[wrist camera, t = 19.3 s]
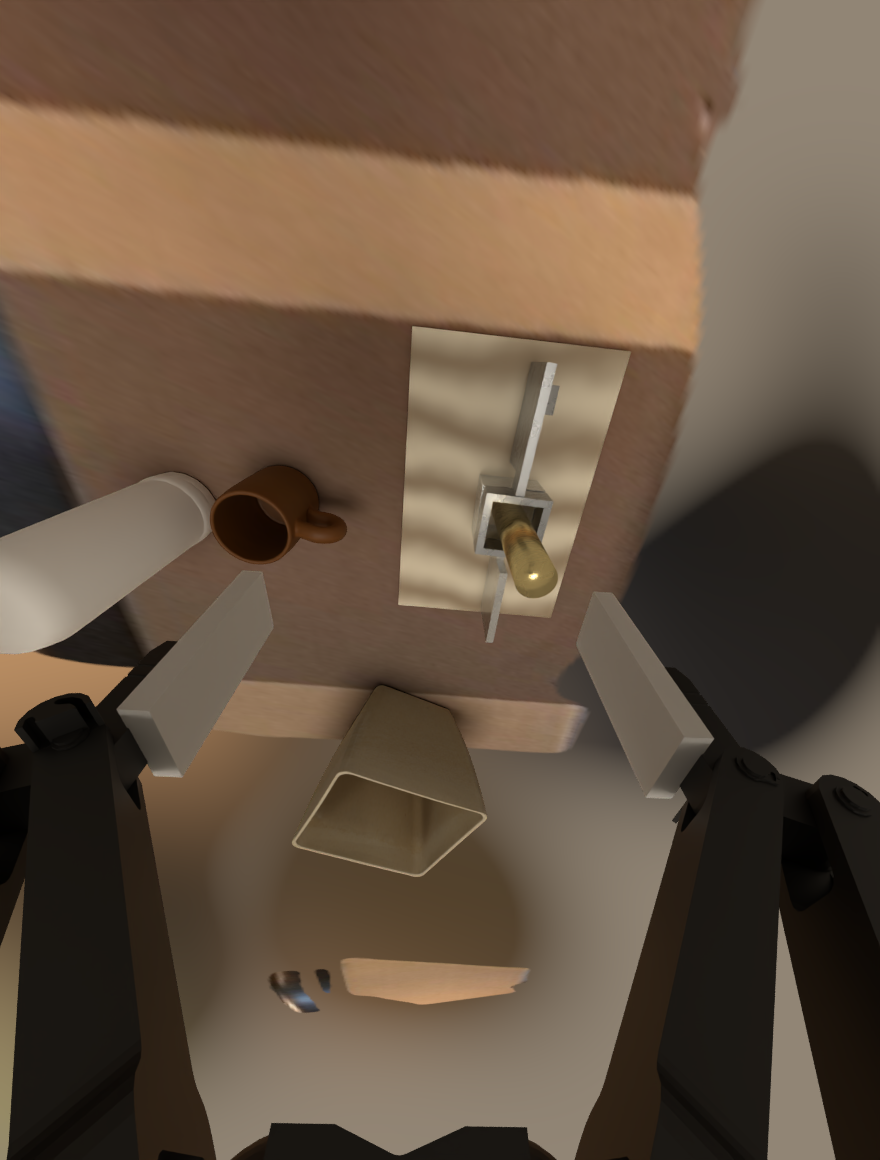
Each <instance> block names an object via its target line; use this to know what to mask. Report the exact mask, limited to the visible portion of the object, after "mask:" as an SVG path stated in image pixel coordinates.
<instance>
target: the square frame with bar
mask: <svg viewBox="0 0 880 1160" xmlns="http://www.w3.org/2000/svg"><path fill="white" fill-rule="evenodd" d="M556 367H557V364H556V363H550V362H531V365H530V370H529V374H528V379H527V383H526V388H525V393H524V397H523V402H522V406H521V411H520V415H519V420H518V424H517V429H516V434H515V438H514V443H513V447H512V452H511V456H510V461H509V462H510V463H511V465H512V466H513V468H514V469H515V471H516V473H515V477H514V481H513V486H512V489H510V488H502V487H495V486H487V485H484V489H483V495H482V500H481V505H480V510H479V516H478V521H477V526H476V531H475V536H474V542H473V545H474V551H475V554H480V555H488V556H496V557H505V558H506V556H505V553H504V550H503V547H502V544H501V541H500V540H493V539H485V537H486V533H487V528H488V523H489V518H490V513H491V509H492V504H493V501H494V502H502V503H509V504H517V505H525V506H532V507H536V509H535V513H534V517H533V520H532V526H533V528H534V530H535V532H536V533H537V535H538V537H539V539H540V541H541V543H542V539H543V536H544V533H545V529H546V526H547V522H548V519H549V516H550V512H551V509H552V505H553V500H552V499H551V498H550V497H549V495H548V494H547V493H540V492H533V491H526V487H527V483H528V479H529V475H530V471H531V467H532V463H533V459H534V455H535V451H536V447H537V443H538V439H539V435H540V431H541V427H542V423H543V419H544V415H545V411H546V407H547V403H548V399H549V395H550V391H551V387H552V383H553V379H554V375H555V371H556Z"/></svg>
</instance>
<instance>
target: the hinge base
mask: <svg viewBox="0 0 880 1160" xmlns="http://www.w3.org/2000/svg"><path fill="white" fill-rule="evenodd" d="M559 387H560V386H557V385H553V384H552V387H551V391H550V395H549V399H548V403H547V407H546V411H545V415H553V413H554V409H555V404H556V400H557V396H558V391H559ZM513 481H514V478H510V477H500V476H490V475H480V474H479V481H478V487H477V494H476V501H475V507H474V514H473V521H472V527H471V529H472V535H473V541H474V536H475V531H476V526H477V521H478V516H479V510H480V505H481V500H482V495H483V489H484V485H487V486H495V487H502V488H510V489H512V486H513ZM526 491H533V492H540V493H545V492H546V491H545V490H544V489H543V487H542V486H541V485H540V484H539V482H538V481H537V480H530V479H528V483H527V487H526ZM535 509H536V507H532V506H524V511H525V513H526V515H527V517H528V519H529V520H530V522H531V524H532V520H533V517H534V513H535ZM485 539H493V540H500V538H499V535H498V531H497V528H496V525H491V524H488V528H487V533H486V537H485ZM507 575H508V573H507V570H506V567H505V563H504V557H496V556H490V558H489V564H488V569H487V575H486V580H485V586H484V591H483V597H482V602H481V614H482V620H483V627H484V633H485V640H486V642H489V643H493V640H494V635H495V630H496V626H497V621H498V617H499V612H500V607H501V603H502V598H503V593H504V589H505V584H506V580H507Z"/></svg>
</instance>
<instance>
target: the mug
mask: <svg viewBox="0 0 880 1160" xmlns="http://www.w3.org/2000/svg"><path fill="white" fill-rule="evenodd" d="M318 509H319V499H318V495H317V492H316V490H315V488H314V486H313V484H312V483H311V482H310V480H309V479H308V478H307V477H306V476H304V475H303V474H302V473H300V472H299V471H297V470H295V469H293V468H290V467H286V466H270V467H267V468H264V469H262V470H260V471H258V472H257V473H255V474H253V475H252V476H250V477H248V478H246V479H244V480H243V481H241V482H239V483H238V484H236V485H234V486H233V487H231V488H230V489H228V490H227V491H226V492H225V493H224V494H222V495H221V496H220V497H219V498H218V499H217V500H216V501H215V502H214V504H213V506H212V508H211V512H210V525H211V529H212V532H213V534H214V536H215V538H216V540H217V541H218V543H219V544H220V545H221V546H222V547H223V548H224V549H225V550H226V551H227V552H228V553H229V554H231V555H232V556H234V557H236V558H237V559H239V560H242V561H244V562H248V563H252V564H269V563H272V562H275V561H277V560H279V559H281V558H282V557H283V556H284V555H285V554H286V553H287V552H289V551H290V550H291V549H292V548H293V547H294V545H295V544H296V543H297V542H298V540H299V539H300V538H302V539H305V540H308V541H311V542H314V543H323V544H326V543H334V542H337V541H339V540H341V539H343V537H344V536H345V535H346V532H347V526H346V523H345V522H344V521H343V520H342V519H341V518H340V517H338V516H336V515H334V514H331V513H326V512H321V511H318Z"/></svg>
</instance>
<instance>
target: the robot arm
mask: <svg viewBox="0 0 880 1160" xmlns="http://www.w3.org/2000/svg"><path fill="white" fill-rule="evenodd" d="M273 628H274V625H273V620H272V616H271V611H270V606H269V601H268V596H267V592H266V587H265V582H264V577H263V572H259V571H242V572H241V573H240V574H239V575H238V576H237V577H236V578H235V579H234V580H233V582H232V583H231V584H230V585H229V586H228V587H227V588H226V589H225V590H224V591H223V593H222V594H221V595H220V596H219V597H218V598H217V599H216V600H215V601H214V602H213V604H212V605H211V606H210V607H209V608H208V609H207V610H206V611H205V612H204V613H203V615H202V616H201V617H200V618H199V619H198V620H197V621H196V622H195V623H194V624H193V626H192V627H191V628H190V629H189V630H188V631H187V632H186V633H185V634H184V635H183V637H182V638H181V639H180V640H179V641H166V642H164V643H163V644H161V645H160V646H158V647H156V648H155V649H153V650H151V651H150V652H149V653H148V654H147V655H146V656H145V657H144V658H143V659H142V660H141V661H140V662H139V663H138V666H135V667H134V668H133V670H131V672H130V673H129V674H128V676H127V677H125V678H124V679H123V680H122V681H121V682H120V683H119V684H118V685H117V686H116V687H115V688H114V689H113V690H112V691H111V692H110V693H109V694H108V695H107V696H106V697H105V698H104V699H103V700H102V701H101V702H100V703H99V704H98V706H96V707H95V706H94V704H93V703H92V701H91V699H90V698H89V696H87V695H84V694H82V693H69V694H65V695H61V696H57V697H54V698H52V699H50V700H47V701H45V702H42V703H40V704H39V705H37V706H36V707H34V708H33V709H31V710H29V711H28V712H27V713H26V714H25V715H24V716H23V717H22V718H21V719H20V720H19V721H18V723H17V725H16V727H15V729H14V730H15V732H16V733H17V734H18V735H19V736H20V738H21V739H22V740H23V741H24V743H25V744H20V745H15V746H10V747H5V748H0V945H1V943H2V940H3V938H4V934H5V932H6V929H7V926H8V924H9V920H10V918H11V915H12V912H13V910H14V907H15V904H16V901H17V898H18V896H19V893H20V890H21V887H22V884H23V882H24V879H25V887H24V904H23V920H22V937H21V953H20V969H19V985H18V986H19V987H18V1001H17V1002H18V1003H17V1018H16V1035H15V1051H14V1067H13V1083H12V1099H11V1115H10V1132H9V1147H8V1154H7V1160H216V1155H215V1150H214V1145H213V1140H212V1134H211V1130H210V1125H209V1121H208V1117H207V1114H206V1111H205V1107H204V1104H203V1102H202V1099H201V1097H200V1094H199V1092H198V1090H197V1087H196V1083H195V1080H194V1075H193V1071H192V1065H191V1060H190V1054H189V1048H188V1043H187V1037H186V1032H185V1026H184V1021H183V1015H182V1009H181V1003H180V998H179V992H178V986H177V981H176V975H175V970H174V965H173V959H172V953H171V947H170V942H169V936H168V930H167V924H166V919H165V913H164V907H163V902H162V896H161V891H160V885H159V879H158V874H157V868H156V863H155V857H154V852H153V845H152V840H151V834H150V829H149V823H148V817H147V812H146V806H145V800H144V795H143V789H142V784H141V782H140V780H139V778H138V776H139V774H140V773H141V771H142V770H143V768H144V767H145V766H146V764H148V766H149V768H150V769H151V771H152V773H153V775H154V776H165V777H183V775H184V774H185V772H186V770H187V769H188V767H189V766H190V764H191V762H192V761H193V759H194V757H195V756H196V754H197V752H198V751H199V749H200V747H201V746H202V744H203V742H204V741H205V739H206V738H207V736H208V734H209V733H210V731H211V729H212V728H213V726H214V725H215V723H216V721H217V720H218V718H219V716H220V715H221V713H222V711H223V710H224V708H225V707H226V705H227V703H228V702H229V700H230V698H231V697H232V695H233V693H234V692H235V690H236V688H237V687H238V685H239V684H240V682H241V680H242V679H243V677H244V675H245V674H246V672H247V670H248V669H249V667H250V666H251V664H252V662H253V661H254V659H255V657H256V656H257V654H258V652H259V651H260V649H261V647H262V646H263V644H264V643H265V641H266V639H267V638H268V636H269V634H270V633H271V631H272V629H273ZM576 645H577V648H578V650H579V652H580V654H581V656H582V659H583V661H584V663H585V665H586V667H587V670H588V672H589V674H590V676H591V678H592V681H593V683H594V685H595V687H596V690H597V692H598V694H599V696H600V698H601V701H602V703H603V705H604V707H605V709H606V712H607V714H608V716H609V718H610V720H611V722H612V725H613V727H614V729H615V731H616V733H617V736H618V738H619V740H620V742H621V744H622V747H623V749H624V751H625V753H626V756H627V758H628V760H629V762H630V765H631V767H632V769H633V771H634V773H635V776H636V778H637V780H638V782H639V784H640V786H641V789H642V791H643V793H644V795H645V797H646V798H665V799H672V797H673V796H674V795H675V793H676V792H677V790H678V789H679V788H680V787H681V789H682V791H683V793H684V795H685V796H686V798H687V801H686V802H685V804H684V805H683V806H682V808H681V809H680V811H679V812H678V813H677V814H676V816H675V817H674V819H673V820H672V821H673V822H675V823H677V822H678V825H677V829H676V832H675V835H674V839H673V842H672V846H671V849H670V853H669V857H668V860H667V864H666V867H665V871H664V874H663V878H662V882H661V885H660V889H659V892H658V896H657V899H656V903H655V906H654V910H653V914H652V917H651V920H650V924H649V927H648V931H647V934H646V938H645V941H644V945H643V949H642V952H641V955H640V959H639V962H638V966H637V970H636V973H635V977H634V980H633V984H632V987H631V991H630V994H629V998H628V1001H627V1005H626V1009H625V1012H624V1016H623V1019H622V1023H621V1026H620V1030H619V1033H618V1037H617V1040H616V1044H615V1047H614V1051H613V1054H612V1058H611V1062H610V1065H609V1068H608V1072H607V1075H606V1079H605V1082H604V1085H603V1088H602V1091H601V1093H600V1096H599V1098H598V1099H597V1101H596V1103H595V1105H594V1107H593V1109H592V1111H591V1113H590V1115H589V1118H588V1120H587V1122H586V1125H585V1128H584V1131H583V1134H582V1137H581V1140H580V1143H579V1146H578V1150H577V1153H576V1157H575V1160H767V1152H768V1131H769V1109H770V1088H771V1087H770V1086H771V1066H772V1046H773V1024H774V1022H773V1021H774V1003H775V981H776V960H777V938H778V918H779V909H780V913H781V918H782V922H783V927H784V931H785V936H786V940H787V945H788V949H789V953H790V958H791V962H792V967H793V971H794V975H795V980H796V985H797V989H798V994H799V998H800V1002H801V1007H802V1011H803V1016H804V1020H805V1025H806V1029H807V1034H808V1038H809V1043H810V1047H811V1051H812V1056H813V1060H814V1065H815V1069H816V1074H817V1078H818V1083H819V1087H820V1092H821V1096H822V1101H823V1105H824V1109H825V1114H826V1118H827V1123H828V1127H829V1132H830V1136H831V1141H832V1145H833V1150H834V1154H835V1158H836V1160H880V802H879V801H878V800H877V799H876V798H874V797H873V796H872V795H871V794H870V793H869V792H867V791H866V790H864V789H863V788H861V787H860V786H858V785H857V784H855V783H853V782H851V781H848V780H847V779H845V778H842V777H838V776H834V775H822V777H820V778H819V779H818V780H817V781H816V782H815V783H814V784H810V783H807V782H804V781H801V780H798V779H795V778H791V777H788V776H785V775H782V774H779V772H778V771H777V770H776V768H775V767H774V766H773V765H772V764H771V763H770V762H768V761H767V760H766V759H765V758H763V757H762V756H760V755H759V754H757V753H755V752H753V751H751V750H748V749H746V748H743V747H740V746H739V745H738V743H737V742H736V741H735V739H734V738H733V737H732V735H731V734H730V733H729V731H728V730H727V729H726V727H725V726H724V725H723V723H722V722H721V721H720V719H719V718H718V717H717V715H716V714H715V713H714V712H713V710H712V709H711V707H710V706H708V705H707V704H708V703H707V702H706V701H705V700H704V698H703V697H702V695H700V694H699V691H698V690H697V689H696V687H695V686H694V685H693V683H692V682H691V681H690V680H689V679H688V678H687V677H686V676H685V675H683V674H682V673H681V672H680V671H679V670H677V669H676V668H671V667H664V666H663V665H662V663H661V662H660V660H659V659H658V658H657V656H656V655H655V653H654V652H653V651H652V649H651V648H650V646H649V645H648V643H647V642H646V640H645V639H644V638H643V636H642V635H641V633H640V632H639V630H638V629H637V628H636V626H635V625H634V623H633V622H632V620H631V619H630V618H629V616H628V615H627V613H626V612H625V611H624V609H623V608H622V606H621V605H620V603H619V602H618V600H617V599H616V598H615V596H614V595H613V593H606V592H593V595H592V598H591V601H590V604H589V607H588V610H587V613H586V616H585V619H584V622H583V625H582V627H581V630H580V633H579V636H578V639H577V642H576ZM231 1160H556V1159H555V1158H554V1157H553V1156H552V1155H551V1154H550V1153H548V1152H547V1151H546V1150H544V1149H543V1148H541V1147H540V1146H539V1145H537V1144H536V1143H534V1142H532V1141H530V1140H528V1133H527V1128H525V1127H524V1128H523V1127H468V1126H465V1127H463V1128H461V1129H459V1130H457V1131H454V1132H452V1133H450V1134H448V1135H446V1136H444V1137H442V1138H439V1139H437V1140H435V1141H433V1142H431V1143H429V1144H427V1145H424V1146H422V1147H420V1148H418V1149H416V1150H414V1151H411V1152H409V1153H407V1154H404V1155H400V1156H399V1155H394V1154H391V1153H389V1152H388V1151H386V1150H384V1149H382V1148H380V1147H378V1146H376V1145H374V1144H372V1143H370V1142H368V1141H366V1140H364V1139H362V1138H361V1137H358V1136H357V1135H355V1134H353V1133H351V1132H349V1131H347V1130H345V1129H343V1128H341V1127H339V1126H337V1125H335V1124H292V1123H271V1128H270V1132H269V1135H268V1136H266V1137H263V1138H262V1139H259V1140H258V1141H256V1142H254V1143H253V1144H251V1145H250V1146H248V1147H246V1148H245V1149H243V1150H242V1151H241V1152H239V1153H238V1154H237V1155H236V1156H235V1157H233V1158H232V1159H231Z"/></svg>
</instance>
